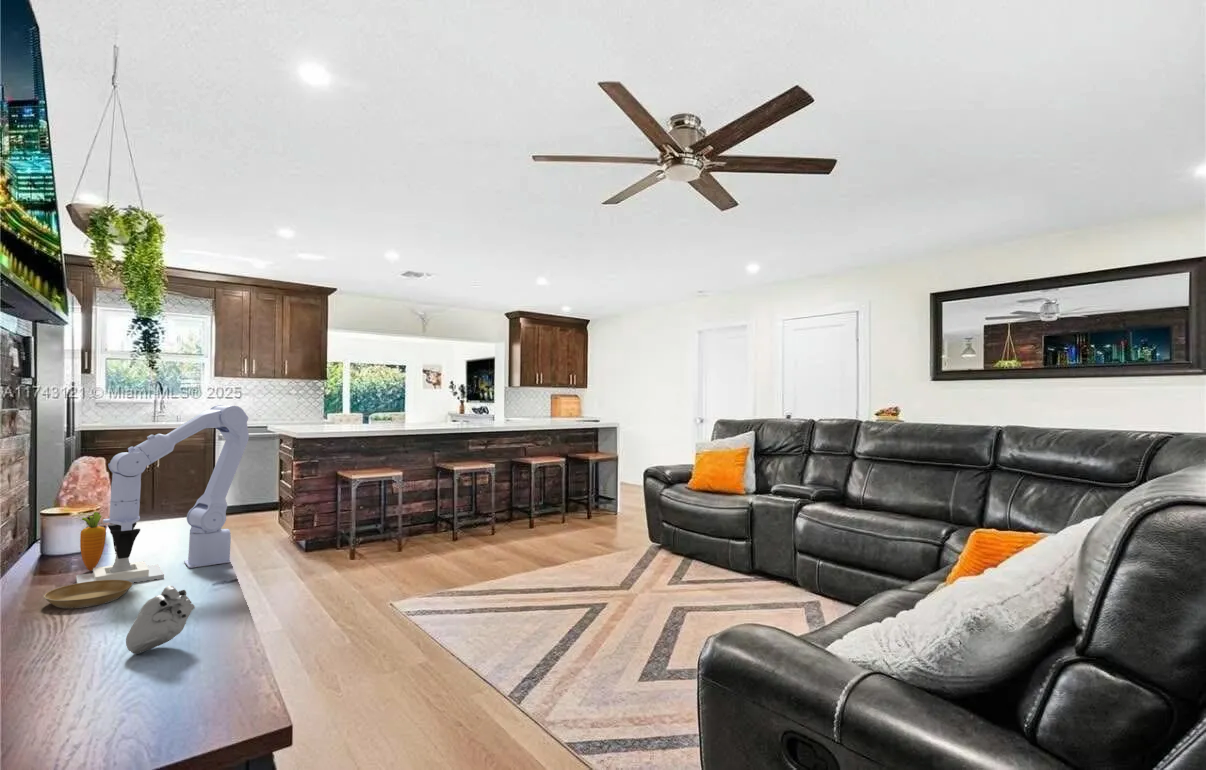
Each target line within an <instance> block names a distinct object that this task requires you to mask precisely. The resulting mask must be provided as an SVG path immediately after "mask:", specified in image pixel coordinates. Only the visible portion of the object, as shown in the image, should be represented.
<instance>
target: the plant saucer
mask: <svg viewBox="0 0 1206 770" xmlns="http://www.w3.org/2000/svg"><path fill="white" fill-rule="evenodd" d="M132 586H133V583H131V582H130V581H125V580H98V581H90V582H83V583H77V582H76V583H74V584H68V585H63V586H60V587H56V588H54V589H51V590H49V591H47V592H46V593H45V594H44V595H43V598H44V599H45V600H46V601H47V602H48V603H49V604H51V605H52V606H54V607H56V608H59V609H80V607H82V608H88V606H90V607H94V605H95V606H99V605H103V604H107V603H111V602H113V601H115V600H118V599H120V597H122V596H124V595H125V594H126V593H127V592H128V591H129V590H130V588H131V587H132Z"/></svg>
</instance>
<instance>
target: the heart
mask: <svg viewBox="0 0 1206 770" xmlns="http://www.w3.org/2000/svg"><path fill="white" fill-rule="evenodd" d="M187 594H188V592H187V591H186V590H185V589H182V590H179V591H178V590H177V589H176V587H174V586H173V585H167V586H166V587H164V588H163V590H162V591H161V594H160V595H155V596H154V597H152V598H150V599H148V600H147V601H146V602H144V604H143V606H142V607H141V608H140V610H139V612H138V614H137V616H136V619H135V620H134V621H133V623H132V625H131V627H130V629H129V631H128V633H127V635H126V638H125V647H126V649H127V650H128V651H129V652H131V653H132V654H135V655H137V654H141V653H143V652H146V651H148V650H152V649H155V648H156V647H159V646H161V645H164V644H166V643H168V642H170V641H172V640H173V639H174V638H175V637H177V636H178V635H180V634H181V633H182V631H183V630H184V628H185V625H186V624H187V621H188V619H189V617H190V616H191V614H192V611H193V610H194V609H195V608H196V606H195V605H194V603H192V600H191V599H190V598H189V596H187Z"/></svg>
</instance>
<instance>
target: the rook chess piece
mask: <svg viewBox="0 0 1206 770" xmlns="http://www.w3.org/2000/svg"><path fill="white" fill-rule="evenodd" d="M113 548H115V549H116V546H115V547H114V546H113ZM115 549H114V550H115ZM114 554H115V559H114V563H113V564H112V565H113V567H112V568H111V569H110V571H111V573H114V572H122V571H129V570H131V569H132V566H131V565H130V563H131V562H130V561H129V560H130V557H129V558H122V559H118V557H117V552H115V553H114Z"/></svg>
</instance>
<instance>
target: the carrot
mask: <svg viewBox="0 0 1206 770" xmlns="http://www.w3.org/2000/svg"><path fill="white" fill-rule="evenodd" d="M101 519H102V515H101V514H99V512H96V511H95V512H93V515H90V516H89V519H88V518H87V517H82V518H81V520H82V521H85V523H87V524H88V527H85V528H83V529H82V530H80V537H79V538H80V539H79V540H80V541H79V542H80V543H79V547H80V554H81V559H82V562H83V564H84V566H85V567H86V569H87V570H88V571H90V572H93V568H96V567H97V565H98V564H99V562H100V559H101V558H102V555H103V551H104V548H105V543H106V535H107V529H106V528H105V527H104V526H100V525H98V524H99V522H100V520H101Z"/></svg>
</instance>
